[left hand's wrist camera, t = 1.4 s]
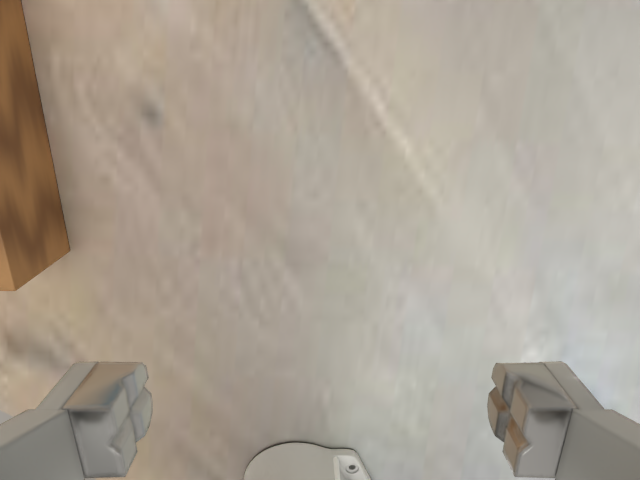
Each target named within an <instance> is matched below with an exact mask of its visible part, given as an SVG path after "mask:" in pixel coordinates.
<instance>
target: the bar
mask: <svg viewBox="0 0 640 480" xmlns="http://www.w3.org/2000/svg"><path fill="white" fill-rule="evenodd" d="M69 251H70V248H69V243H68V238H67V233H66V227H65V222H64V217H63V212H62V207H61V202H60V197H59V192H58V187H57V182H56V177H55V172H54V167H53V162H52V156H51V151H50V146H49V141H48V136H47V131H46V126H45V121H44V116H43V111H42V106H41V101H40V96H39V91H38V85H37V80H36V75H35V70H34V65H33V60H32V55H31V50H30V45H29V40H28V35H27V30H26V25H25V20H24V15H23V9H22V4H21V0H0V291H16V290H17V289H19V288H20V287H21V286H23V285H24V284H26V283H27V282H28V281H30V280H31V279H32V278H34V277H35V276H37V275H38V274H39V273H41V272H42V271H43V270H45V269H46V268H47V267H49V266H50V265H52V264H53V263H54V262H56V261H57V260H58V259H60V258H61V257H63V256H64V255H65V254H67V253H68V252H69Z"/></svg>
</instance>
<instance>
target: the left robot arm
mask: <svg viewBox="0 0 640 480" xmlns="http://www.w3.org/2000/svg"><path fill="white" fill-rule="evenodd" d="M491 378H492V380H493V381H494V383H495V385H496V387H495V388H494V389H493V390H492V391H491V392H490V393H489V396H488V404H487V408H488V418H489V422H490V425H491V428H492V430H493V432H494V435H495V436H496V437H497V438H499V439H500V440H501V441H503V442H504V447H503V453H504V456H505V458H506V460H507V462H508V464H509V466H510V468H511V470H512V472H513V474H514V476H515V477H536V478H555V480H640V424H638V423H636V422H634V421H633V420H631V419H629V418H627V417H625V416H623V415H621V414H619V413H618V412H616V411H614V410H606V409H604V408H603V407H602V405H601V404H600V403H599V402H598V401H597V399H596V398H595V397H594V396H593V395H592V394H591V392H590V391H589V390H588V389H587V388H586V386H585V385H584V384H583V383H582V382H581V381H580V379H579V378H578V377H577V376H576V375H575V373H574V372H573V371H572V370H571V369H570V368H569V366H568V365H567V364H565V363H563V362H561V361H556V362H539V363H496V364H495V366H494V368H493V372H492V377H491ZM147 380H148V373H147V368H146V365H144V364H143V363H138V362H77V363H75V364H73V365H72V366H71V367H70V369H69V370H68V371H67V372H66V373H65V375H64V376H63V377H62V378H61V379H60V380H59V382H58V383H57V384H56V385H55V386H54V388H53V389H52V390H51V391H50V392H49V394H48V395H47V396H46V397H45V398H44V399H43V401H42V402H41V403H40V404H39V405H38V407H37V408H36V409H34V410H26V411H24V412H22V413H21V414H19V415H17V416H15V417H13V418H11V419H9V420H7V421H5V422H4V423H2V424H0V480H85V478H103V477H125V476H126V474H127V472H128V470H129V468H130V466H131V464H132V462H133V460H134V458H135V456H136V453H137V447H136V442H137V441H138V440H140V439H141V438H143V437H144V436H145V435H146V432H147V430H148V428H149V426H150V421H151V417H152V396H151V393H150V392H149V391H148V390H147V389H146V388H145V387H144V385H145V383H146V381H147Z"/></svg>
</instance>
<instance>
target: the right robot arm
mask: <svg viewBox="0 0 640 480" xmlns="http://www.w3.org/2000/svg"><path fill="white" fill-rule="evenodd" d="M244 480H371V478H370V476H369V474H368V472H367V471H366V469H365V467H364V465H363V463H362V461H361V459H360V458H359V456H358V454H357V453H356V452H355V451H354V450H351V449H328V448H324V447H321V446H317V445H314V444H309V443H285V444H280V445H277V446H273V447H271V448H268V449H266V450H264V451H263V452H261V453H260V454H258V455H257V456H256V457H255V458H254V459H253V460H252V461H251V462H250V463H249V465H248V467H247V469H246V471H245V474H244Z"/></svg>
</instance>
